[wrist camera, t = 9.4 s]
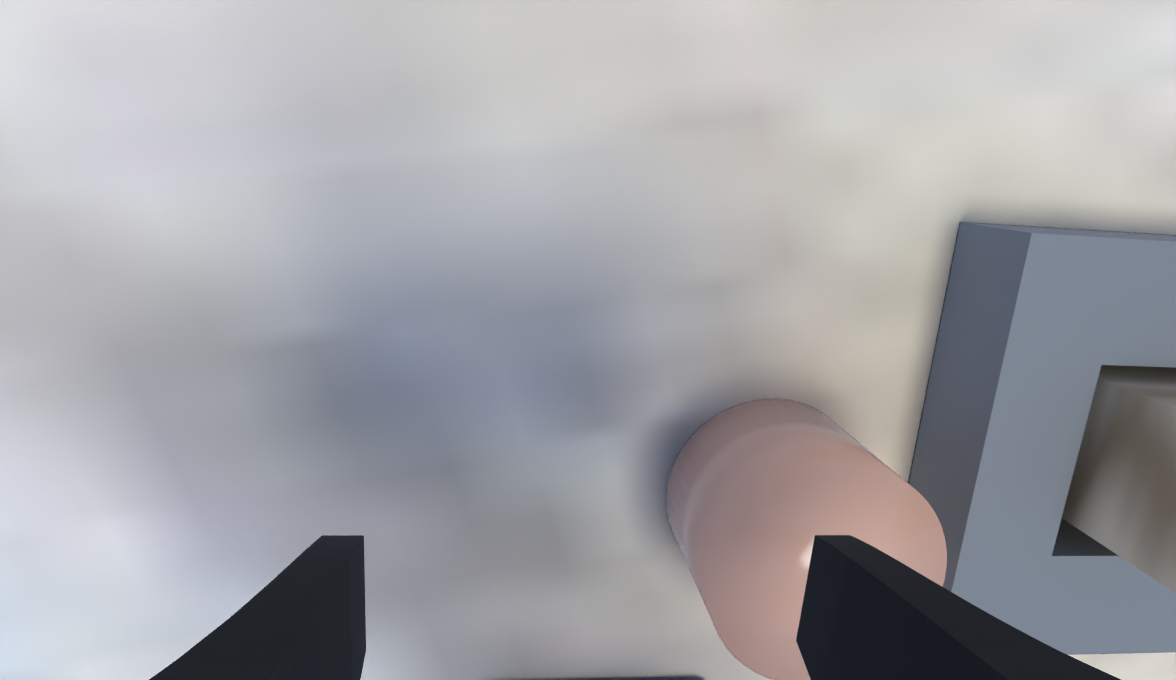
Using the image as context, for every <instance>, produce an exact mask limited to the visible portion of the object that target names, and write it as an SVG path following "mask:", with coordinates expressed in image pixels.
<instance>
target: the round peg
mask: <svg viewBox="0 0 1176 680" xmlns="http://www.w3.org/2000/svg"><path fill="white" fill-rule="evenodd" d="M666 507H667V515H668V519H669V522H670V526H671V528H672V530H673V533H674V535H675V537H676V540H677V542H678V544H679V546H680V549H681V551H682V553H683V556H684V558H685V560H686V562H687V565H688V567H689V569H690V571H691V574H692V576H693V578H694V581H695V583H696V585H697V587H698V590H699V592H700V594H701V596H702V599H703V601H704V603H705V605H706V608H707V610H708V612H709V615H710V617H711V619H712V621H713V624H714V626H715V628H716V630H717V633H718V635H719V637H720V638H721V640H722V642H723V643H724V645H725V646H726V648H727V649H728V650H729V651H730V652H731V653H732V655H733V656H734V657H735V658H736V659H738V660H739V661H740V662H741V663H742V664H743V665H745V666H746V667H748V668H749V669H751V670H753V671H754V672H756V673H758V674H760V675H762V676H765V677H767V678H769V679H773V680H811V679H810V676H809V674H808V671H807V669H806V666H805V663H804V660H803V658H802V655H801V652H800V650H799V647H798V644H797V642H796V638H797V632H798V627H799V621H800V616H801V610H802V604H803V599H804V593H805V588H806V582H807V576H808V571H809V565H810V560H811V554H812V548H813V543H814V537H815V535H851V536H853V537H855V538H857V539H859V540H862V541H864V542H865V543H867V544H869V545H871V546H873V547H875V548H877V549H879V550H880V551H882V552H884V553H886V554H887V555H889V556H891V557H893V558H894V559H896V560H898V561H900V562H901V563H903V564H905V565H906V566H908V567H910V568H911V569H913V570H915V571H916V572H918V573H920V574H922V575H923V576H925V577H927V578H928V579H930V580H932V581H933V582H935V583H937V584H939V585H940V586H942V587H943V583H944V580H945V574H946V567H947V549H946V541H945V536H944V533H943V529H942V526H941V524H940V521H939V519H938V517H937V515H936V513H935V511H934V510H933V509H932V507H931V506H930V504H929V503H928V501H927V500H926V499H925V498H924V497H923V496H922V495H921V494H920V493H919V492H918V491H917V490H916V489H914V488H913V487H912V486H911V485H910V484H908V483H907V482H906V481H905V480H903V479H902V478H901V477H900V476H899V475H897V474H896V473H895V472H894V471H893V470H891V469H890V468H889V467H888V466H887V465H885V464H884V463H883V462H882V461H880V460H879V459H878V458H877V457H876V456H874V455H873V454H872V453H871V452H870V451H868V450H867V449H866V448H865V447H863V446H862V445H861V444H860V443H859V442H857V441H856V440H855V439H854V438H853V437H851V436H850V435H849V434H848V433H847V432H845V431H844V430H843V429H842V428H840V427H839V426H838V425H837V424H836V423H834V422H833V421H832V420H831V419H829V418H828V417H827V416H825V415H824V414H823V413H822V412H820V411H818V410H816V409H814V408H812V407H810V406H808V405H805V404H802V403H800V402H795V401H791V400H784V399H761V400H755V401H749V402H746V403H742V404H739V405H736V406H734V407H731V408H729V409H727V410H725V411H723V412H721V413H719V414H718V415H716V416H714V417H713V418H711V419H710V420H709V421H707V422H706V423H705V424H703V425H702V426H701V427H700V428H699V429H698V430H697V431H696V432H695V433H694V434H693V435H692V436H691V437H690V438H689V440H688V441H687V442H686V443H685V445H684V446H683V448H682V449H681V451H680V453H679V454H678V456H677V458H676V460H675V462H674V464H673V466H672V469H671V473H670V476H669V479H668V485H667V491H666Z"/></svg>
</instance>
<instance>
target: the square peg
mask: <svg viewBox="0 0 1176 680" xmlns="http://www.w3.org/2000/svg"><path fill="white" fill-rule="evenodd" d="M1062 519H1064V520H1065V521H1067V522H1068V523H1070V524H1071V525H1073V526H1074V527H1076V528H1077V529H1079V530H1080V531H1082V532H1083V533H1085V534H1087V535H1088V536H1090V537H1091V538H1093V539H1094V540H1096V541H1097V542H1099V543H1100V544H1102V545H1103V546H1105V547H1106V548H1108V549H1109V550H1111V551H1112V552H1114V553H1115V554H1117V555H1118V556H1120V557H1121V558H1123V559H1125V560H1126V561H1128V562H1129V563H1131V564H1132V565H1134V566H1135V567H1137V568H1138V569H1140V570H1141V571H1143V572H1144V573H1146V574H1147V575H1149V576H1150V577H1152V578H1153V579H1155V580H1156V581H1158V582H1159V583H1161V584H1162V585H1164V586H1166V587H1167V588H1169V589H1170V590H1172V591H1173V592H1175V593H1176V368H1175V367H1146V366H1118V365H1101V369H1100V373H1099V377H1098V381H1097V384H1096V388H1095V392H1094V396H1093V400H1092V404H1091V407H1090V411H1089V415H1088V419H1087V423H1086V427H1085V430H1084V434H1083V438H1082V442H1081V446H1080V450H1079V453H1078V457H1077V461H1076V465H1075V469H1074V473H1073V476H1072V480H1071V484H1070V488H1069V492H1068V496H1067V499H1066V503H1065V507H1064V511H1063V515H1062Z"/></svg>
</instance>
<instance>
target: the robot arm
mask: <svg viewBox="0 0 1176 680" xmlns="http://www.w3.org/2000/svg"><path fill="white" fill-rule="evenodd" d="M796 642H797V644H798V647H799V650H800V652H801V655H802V658H803V660H804V663H805V666H806V669H807V671H808V674H809V676H810V679H811V680H1120V679H1118V678H1116V677H1114V676H1112V675H1109V674H1107V673H1105V672H1103V671H1101V670H1099V669H1096V668H1094V667H1092V666H1090V665H1088V664H1086V663H1083V662H1081V661H1079V660H1077V659H1075V658H1073V657H1071V656H1069V655H1067V654H1065V653H1063V652H1060V651H1058V650H1056V649H1054V648H1052V647H1050V646H1048V645H1046V644H1045V643H1043V642H1041V641H1039V640H1037V639H1035V638H1033V637H1031V636H1029V635H1028V634H1026V633H1024V632H1022V631H1020V630H1018V629H1016V628H1014V627H1013V626H1011V625H1009V624H1007V623H1005V622H1003V621H1001V620H1000V619H998V618H996V617H994V616H992V615H991V614H989V613H987V612H985V611H983V610H982V609H980V608H978V607H976V606H975V605H973V604H971V603H969V602H968V601H966V600H964V599H962V598H961V597H959V596H957V595H956V594H954V593H952V592H950V591H949V590H947V589H945V588H944V587H942V586H940V585H939V584H937V583H935V582H933V581H932V580H930V579H928V578H927V577H925V576H923V575H922V574H920V573H918V572H916V571H915V570H913V569H911V568H910V567H908V566H906V565H905V564H903V563H901V562H900V561H898V560H896V559H894V558H893V557H891V556H889V555H887V554H886V553H884V552H882V551H880V550H879V549H877V548H875V547H873V546H871V545H869V544H867V543H865V542H864V541H862V540H859V539H857V538H855V537H853V536H851V535H815V537H814V543H813V548H812V554H811V560H810V565H809V571H808V576H807V582H806V588H805V593H804V599H803V604H802V610H801V616H800V621H799V627H798V632H797V638H796ZM365 652H366V629H365V578H364V536H321V537H320V538H319V539H318V540H317V541H315V542H314V543H313V544H312V545H311V546H310V547H309V548H307V549H306V550H305V551H304V552H303V553H302V554H301V555H300V556H299V557H297V558H296V559H295V560H294V561H293V562H292V563H291V564H290V565H289V566H288V567H287V568H286V569H284V570H283V571H282V572H281V573H280V574H279V575H278V576H277V577H276V578H275V579H274V580H272V581H271V582H270V583H269V584H268V585H267V586H266V587H265V588H264V589H262V590H261V591H260V592H259V593H258V594H257V595H256V596H254V597H253V598H252V599H251V600H250V601H249V602H248V603H246V604H245V605H244V606H243V607H242V608H241V609H240V610H238V611H237V612H236V613H235V614H234V615H233V616H231V617H230V618H229V619H228V620H227V621H225V622H224V623H223V624H222V625H220V626H219V627H218V628H217V629H215V630H214V631H213V632H211V633H210V634H209V635H208V636H206V637H205V638H204V639H203V640H201V641H200V642H199V643H198V644H196V645H195V646H194V647H193V648H191V649H190V650H189V651H188V652H186V653H185V654H184V655H183V656H181V657H180V658H179V659H177V660H176V661H175V662H173V663H172V664H170V665H169V666H168V667H166V668H165V669H164V670H162V671H161V672H159V673H158V674H156V675H155V676H154V677H152V678H151V679H149V680H360V678H361V673H362V668H363V662H364V657H365Z"/></svg>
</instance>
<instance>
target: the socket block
mask: <svg viewBox="0 0 1176 680" xmlns="http://www.w3.org/2000/svg"><path fill="white" fill-rule="evenodd" d="M1101 365H1118V366H1146V367H1175V368H1176V235H1162V234H1146V233H1129V232H1113V231H1097V230H1081V229H1065V228H1049V227H1032V226H1016V225H1000V224H984V223H968V222H960V227H959V232H958V237H957V242H956V247H955V252H954V257H953V262H952V267H951V272H950V277H949V282H948V287H947V292H946V297H945V302H944V307H943V313H942V318H941V323H940V328H939V333H938V338H937V343H936V348H935V353H934V358H933V363H932V368H931V373H930V378H929V383H928V388H927V393H926V398H925V403H924V408H923V414H922V419H921V424H920V429H919V434H918V439H917V444H916V449H915V454H914V459H913V464H912V469H911V474H910V479H909V484H910V485H911V486H912V487H913V488H914V489H916V490H917V491H918V492H919V493H920V494H921V495H922V496H923V497H924V498H925V499H926V500H927V501H928V503H929V504H930V506H931V507H932V509H933V510H934V511H935V513H936V515H937V517H938V519H939V521H940V524H941V526H942V529H943V533H944V536H945V541H946V549H947V567H946V574H945V580H944V583H943V587H944V588H945V589H947V590H949V591H950V592H952V593H954V594H956V595H957V596H959V597H961V598H962V599H964V600H966V601H968V602H969V603H971V604H973V605H975V606H976V607H978V608H980V609H982V610H983V611H985V612H987V613H989V614H991V615H992V616H994V617H996V618H998V619H1000V620H1001V621H1003V622H1005V623H1007V624H1009V625H1011V626H1013V627H1014V628H1016V629H1018V630H1020V631H1022V632H1024V633H1026V634H1028V635H1029V636H1031V637H1033V638H1035V639H1037V640H1039V641H1041V642H1043V643H1045V644H1046V645H1048V646H1050V647H1052V648H1054V649H1056V650H1058V651H1060V652H1063V653H1065V654H1067V655H1073V654H1117V653H1161V652H1176V593H1175V592H1173V591H1172V590H1170V589H1169V588H1167V587H1166V586H1164V585H1162V584H1161V583H1159V582H1158V581H1156V580H1155V579H1153V578H1152V577H1150V576H1149V575H1147V574H1146V573H1144V572H1143V571H1141V570H1140V569H1138V568H1137V567H1135V566H1134V565H1132V564H1131V563H1129V562H1128V561H1126V560H1125V559H1123V558H1121V557H1120V556H1118V555H1117V554H1115V553H1114V552H1112V551H1111V550H1109V549H1108V548H1106V547H1105V546H1103V545H1102V544H1100V543H1099V542H1097V541H1096V540H1094V539H1093V538H1091V537H1090V536H1088V535H1087V534H1085V533H1083V532H1082V531H1080V530H1079V529H1077V528H1076V527H1074V526H1073V525H1071V524H1070V523H1068V522H1067V521H1065V520H1064V519H1062V515H1063V511H1064V507H1065V503H1066V499H1067V496H1068V492H1069V488H1070V484H1071V480H1072V476H1073V473H1074V469H1075V465H1076V461H1077V457H1078V453H1079V450H1080V446H1081V442H1082V438H1083V434H1084V430H1085V427H1086V423H1087V419H1088V415H1089V411H1090V407H1091V404H1092V400H1093V396H1094V392H1095V388H1096V384H1097V381H1098V377H1099V373H1100V369H1101Z"/></svg>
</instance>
